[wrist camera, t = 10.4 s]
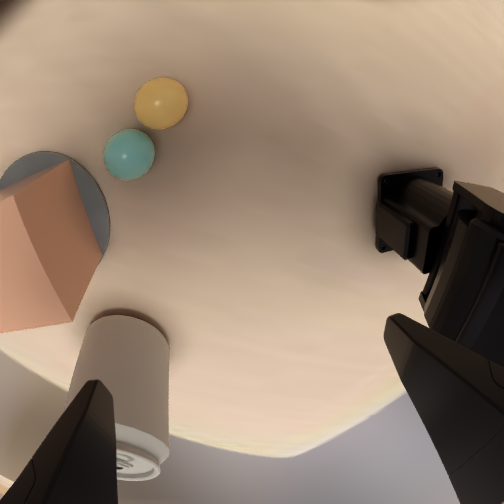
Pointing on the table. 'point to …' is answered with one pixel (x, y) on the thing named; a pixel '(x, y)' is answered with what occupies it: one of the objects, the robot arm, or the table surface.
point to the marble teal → (129, 154)
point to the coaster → (85, 183)
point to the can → (130, 389)
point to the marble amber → (160, 103)
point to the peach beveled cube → (44, 250)
